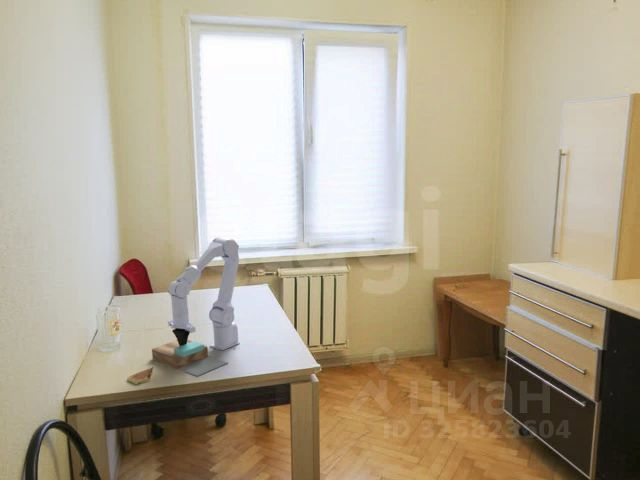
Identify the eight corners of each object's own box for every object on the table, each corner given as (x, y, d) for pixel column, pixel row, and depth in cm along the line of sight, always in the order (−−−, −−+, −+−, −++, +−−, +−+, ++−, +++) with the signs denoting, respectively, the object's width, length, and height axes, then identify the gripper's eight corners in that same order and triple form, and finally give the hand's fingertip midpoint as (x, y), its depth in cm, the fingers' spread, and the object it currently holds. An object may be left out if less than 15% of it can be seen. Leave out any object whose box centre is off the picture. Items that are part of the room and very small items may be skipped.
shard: (153, 370, 182) (153, 365, 182) (166, 375, 178) (165, 370, 177) (126, 381, 174) (126, 376, 174) (139, 386, 169) (138, 381, 169)
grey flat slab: (209, 356, 192) (208, 355, 192) (227, 363, 185) (227, 362, 185) (178, 369, 182) (178, 368, 182) (197, 376, 175) (197, 375, 175)
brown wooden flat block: (183, 347, 203) (182, 338, 202) (208, 356, 193) (207, 346, 192) (152, 358, 192) (151, 349, 191) (177, 368, 182) (176, 358, 181)
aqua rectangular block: (194, 346, 193) (193, 341, 193) (203, 349, 189) (203, 344, 189) (174, 353, 186) (173, 348, 186) (183, 357, 182) (183, 351, 182)
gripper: (160, 311, 189) (162, 345, 192) (183, 318, 180) (185, 354, 182) (175, 307, 195) (178, 340, 197) (199, 313, 186) (201, 348, 188)
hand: (183, 346), depth 190 cm, fingers closed
